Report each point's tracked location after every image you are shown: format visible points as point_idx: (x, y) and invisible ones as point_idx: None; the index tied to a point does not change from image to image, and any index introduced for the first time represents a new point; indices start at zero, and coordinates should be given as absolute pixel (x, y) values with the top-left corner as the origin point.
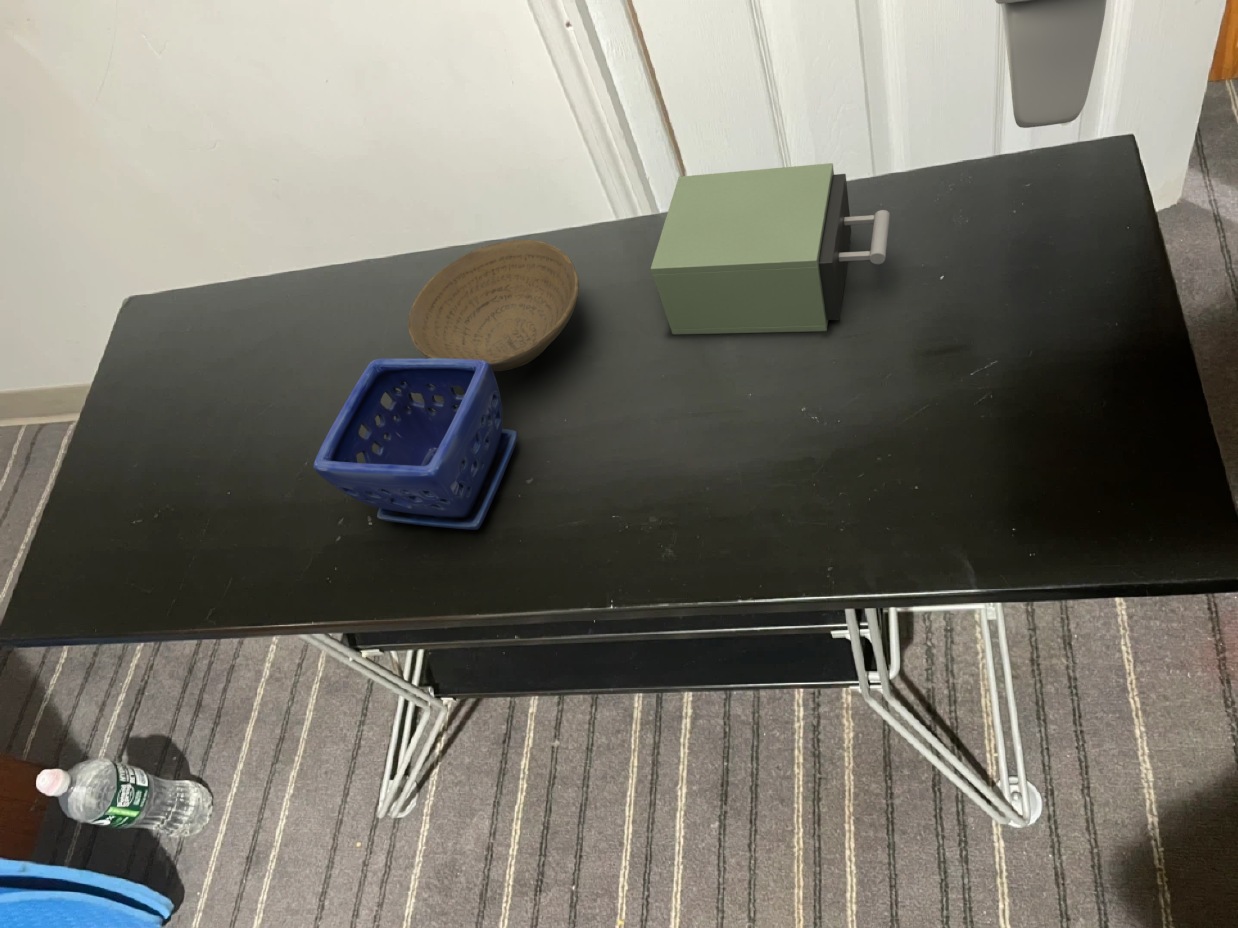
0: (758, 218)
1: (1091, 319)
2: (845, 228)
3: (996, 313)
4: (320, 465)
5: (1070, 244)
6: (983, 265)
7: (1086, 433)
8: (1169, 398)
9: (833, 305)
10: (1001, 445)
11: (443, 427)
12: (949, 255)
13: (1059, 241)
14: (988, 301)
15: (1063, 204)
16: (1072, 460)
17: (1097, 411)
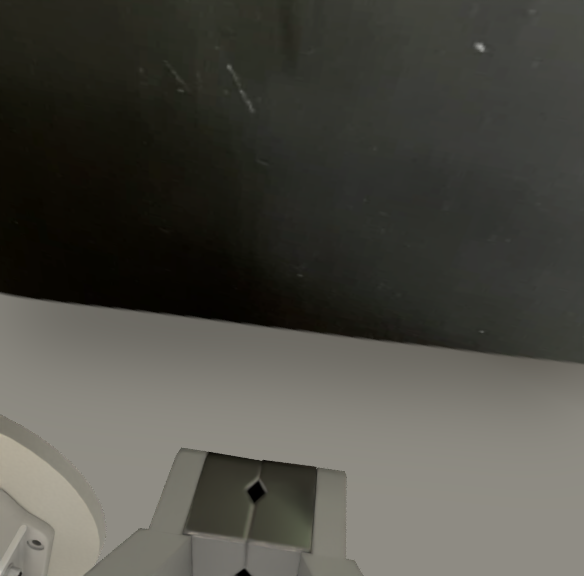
0: None
1: (315, 251)
2: None
3: (358, 129)
4: None
5: (478, 261)
6: (483, 128)
7: (115, 200)
8: (171, 294)
9: None
10: (87, 89)
11: None
12: (537, 71)
13: (492, 249)
14: (390, 121)
15: (577, 273)
16: (71, 175)
17: (151, 220)
